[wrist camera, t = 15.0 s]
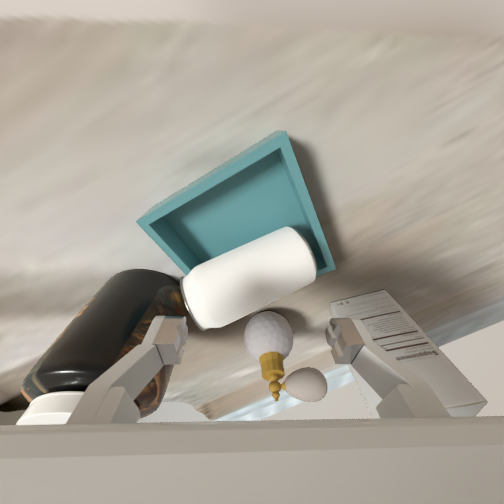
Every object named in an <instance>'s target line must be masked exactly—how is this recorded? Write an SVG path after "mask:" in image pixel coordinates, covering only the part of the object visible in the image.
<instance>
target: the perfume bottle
mask: <svg viewBox="0 0 504 504" xmlns="http://www.w3.org/2000/svg"><path fill="white" fill-rule="evenodd" d="M244 342H245V347H246V349H247V351H248V353H249V355H250V356H251V357H252V358H253V359H254V360H256V361H257V362H259V363H260V364H261V368H262V377H263V378H264V379H265V380H268V381H271V383H270V384H269V389H270V391H271V392H272V393H273V394H272V396H273V397H274V398H275V401H278V398H279V396H280V394H279V391H280V390H281V388H282V389H284V390H286V392H287V393H288V394H290V395H291V396H292V397H294V398H296V399H299V400H302V401H307V402H316V401H319V400H321V399H322V398H324V396H325V395H326V393H327V382H326V379H325V377H324V375H323V374H322V373H321V372H320V371H319V370H317V369H315V368H310V367H307V368H301V369H298V370H296V371H294V372H292V373H291V374H290V375H289V376H288V377H287V378H286V380H285V381H284V382H283V383H282V384H281V385H280V383H279V382H277V381H278V380H279V379H281V378H283V376H284V375H285V374H284V368H283V360H284V359H285V358H286V357H287V356H288V355H289V353H290V351H291V349H292V346H293V333H292V329H291V327H290V325H289V323H288V322H287V320H286V319H285V318H284V317H283V316H281V315H280V314H277V313H275V312H271V311H265V312H260V313H258V314H256V315H254V316H253V317H252V318H251V319H250V320H249V322H248V324H247V325H246V328H245V331H244Z"/></svg>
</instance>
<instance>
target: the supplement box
mask: <svg viewBox="0 0 504 504" xmlns="http://www.w3.org/2000/svg"><path fill="white" fill-rule="evenodd" d="M330 307H331V316H332V318H359V319H360V320H361V321H362V323H363V325H364V326H365V328H366V330H367V331H368V333H369V335H370V336H371V338H372V339H373V341H374V343H375V344H376V345H379V346H380V347H381V348H383V349H384V350H385V351H387V352H388V353H389V354H390V355H392V356H393V357H394V358H396V359H397V360H398V361H399V362H401V363H402V364H403V365H405V366H406V367H407V368H409V369H410V370H411V371H412V372H414V373H415V374H416V375H418V376H419V377H420V378H421V379H423V380H424V381H425V382H427V383H428V384H429V386H430V387H431V389H432V390H433V391H434V393H435V394H436V396H437V397H438V398H439V400H440V401H441V403H442V404H443V405H444V407H445V408H446V410H447V411H448V412H449V414H450V415H451V417H475V416H476V415H477V414H478V413H479V412H480V410H481V409H482V408H483V407H484V406H485V405H486V404H487V403H488V401H487V400H486V399H485V398H484V397H483V396H482V395H481V394H480V393H479V391H478V390H477V389H476V388H475V387H474V386H473V385H472V384H471V383H470V382H469V381H468V380H467V378H466V377H465V376H464V375H463V374H462V373H461V372H460V371H459V370H458V369H457V368H456V366H454V364H453V363H452V362H451V361H450V360H449V359H448V358H447V357H446V356H445V354H444V353H442V351H441V350H440V349H439V348H438V347H437V346H436V345H435V343H434V342H433V341H432V340H431V339H430V338H429V337H428V336H427V335H426V334H425V332H424V331H423V330H422V329H421V328H420V327H419V326H418V325H417V324H416V323H415V322H414V320H413V319H412V318H411V317H410V316H409V315H408V314H407V313H406V312H405V311H404V309H403V308H402V307H401V306H400V305H399V304H398V303H397V302H396V301H395V300H394V299H393V298H392V296H391V295H390V294H389V293H388V292H387V291H386V290H381V291H377V292H373V293H369V294H365V295H361V296H357V297H352V298H348V299H344V300H340V301H336V302H332V303H330ZM348 366H349V368H350V370H351V373H352V375H353V377H354V379H355V381H356V383H357V385H358V388H359V390H360V392H361V394H362V396H363V398H364V401H365V403H366V405H367V407H368V409H369V411H370V414H371V416H372V418H373V419H377V418H380V416H379V414H378V412H377V410H376V406H377V405H378V404H379V403H380V402H381V401H382V399H381V397H380V396H379V395H378V394H377V393H376V392H375V391H374V390H373V389H372V388H371V387H370V385H369V384H368V383H367V382H366V381H365V380H364V379H363V378H362V377H361V376H360V375H359V373H358V372H357V371H356V370H355V369H354V368H353V367H352V366H351V364H348Z"/></svg>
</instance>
